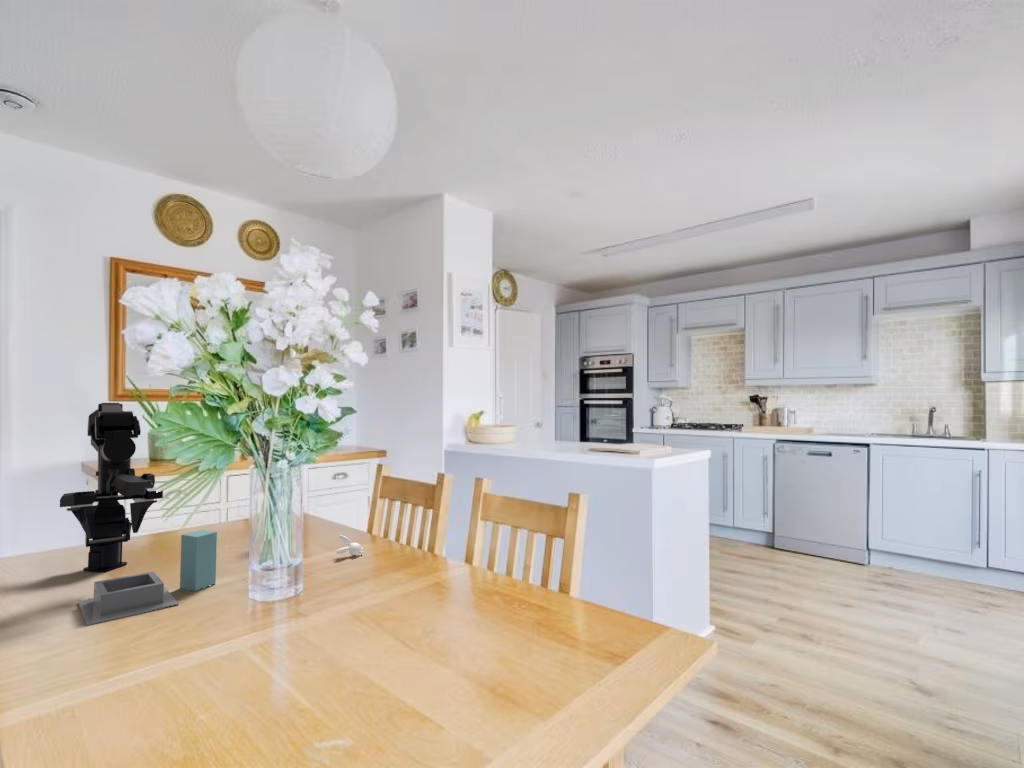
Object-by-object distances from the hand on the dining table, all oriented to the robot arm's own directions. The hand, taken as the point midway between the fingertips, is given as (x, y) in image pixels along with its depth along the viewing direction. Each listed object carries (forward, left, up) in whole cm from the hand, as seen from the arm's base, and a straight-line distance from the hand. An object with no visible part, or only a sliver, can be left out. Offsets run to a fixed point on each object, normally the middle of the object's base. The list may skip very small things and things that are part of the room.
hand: (113, 535), depth 120 cm
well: (+7, +10, -12) cm, 17 cm away
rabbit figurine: (-33, +40, -12) cm, 53 cm away
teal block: (-5, +17, -12) cm, 21 cm away
